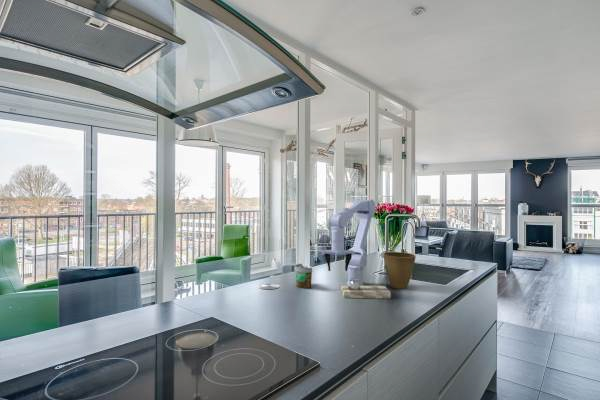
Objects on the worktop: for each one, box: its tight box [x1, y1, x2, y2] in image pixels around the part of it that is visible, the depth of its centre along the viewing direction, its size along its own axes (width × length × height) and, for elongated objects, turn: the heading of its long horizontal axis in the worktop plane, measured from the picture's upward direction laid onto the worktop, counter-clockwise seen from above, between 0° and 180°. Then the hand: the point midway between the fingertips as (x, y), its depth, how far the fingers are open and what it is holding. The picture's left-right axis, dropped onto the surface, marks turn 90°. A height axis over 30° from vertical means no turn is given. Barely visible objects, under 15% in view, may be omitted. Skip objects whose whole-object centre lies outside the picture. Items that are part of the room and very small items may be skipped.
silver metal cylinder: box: [350, 278, 360, 290], centre depth 142 cm, size 4×4×7 cm
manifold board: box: [341, 284, 392, 299], centre depth 142 cm, size 11×20×2 cm, turn 89°
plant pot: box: [383, 251, 416, 290], centre depth 154 cm, size 15×15×16 cm
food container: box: [293, 263, 313, 290], centre depth 154 cm, size 12×6×10 cm, turn 25°
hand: (337, 270), depth 145 cm, fingers open, 7 cm apart
